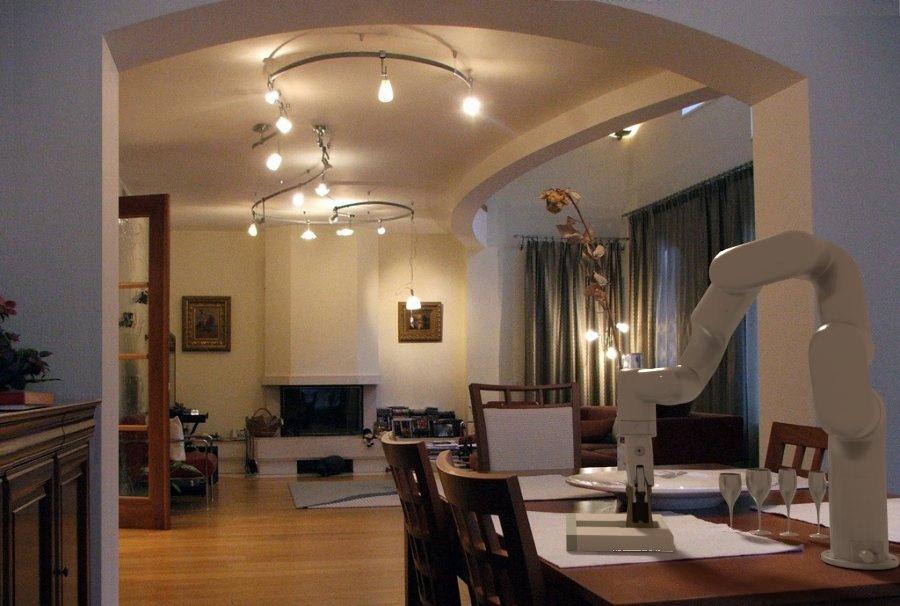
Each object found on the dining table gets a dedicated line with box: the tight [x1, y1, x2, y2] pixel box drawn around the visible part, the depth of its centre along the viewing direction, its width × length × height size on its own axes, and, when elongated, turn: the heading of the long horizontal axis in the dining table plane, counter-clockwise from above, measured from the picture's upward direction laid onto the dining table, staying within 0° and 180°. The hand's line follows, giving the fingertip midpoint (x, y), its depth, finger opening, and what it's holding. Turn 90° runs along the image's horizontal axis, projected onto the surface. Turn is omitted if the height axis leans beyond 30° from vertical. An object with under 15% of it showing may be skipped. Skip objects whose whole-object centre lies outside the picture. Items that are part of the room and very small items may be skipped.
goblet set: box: [718, 467, 830, 539], centre depth 192 cm, size 28×6×13 cm, turn 68°
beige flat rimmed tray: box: [565, 512, 675, 552], centre depth 188 cm, size 24×20×3 cm
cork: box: [625, 482, 654, 528], centre depth 188 cm, size 6×6×11 cm
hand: (639, 519), depth 188 cm, fingers closed on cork, 3 cm apart
